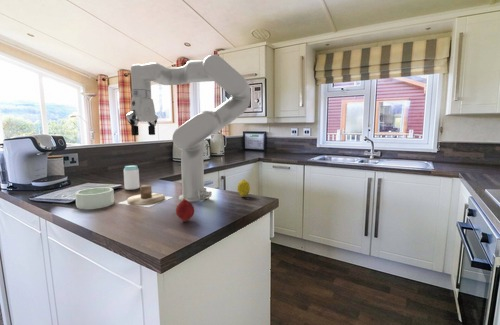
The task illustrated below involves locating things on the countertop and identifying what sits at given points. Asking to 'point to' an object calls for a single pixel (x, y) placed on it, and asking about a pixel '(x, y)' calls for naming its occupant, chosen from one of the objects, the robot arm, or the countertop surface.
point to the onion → (185, 210)
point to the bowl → (94, 198)
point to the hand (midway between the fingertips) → (143, 135)
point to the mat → (145, 205)
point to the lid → (145, 197)
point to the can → (131, 177)
